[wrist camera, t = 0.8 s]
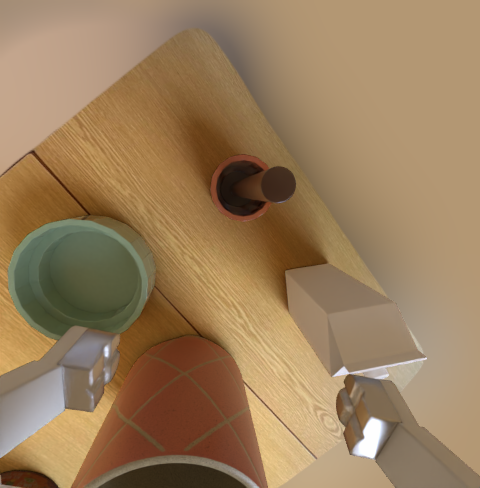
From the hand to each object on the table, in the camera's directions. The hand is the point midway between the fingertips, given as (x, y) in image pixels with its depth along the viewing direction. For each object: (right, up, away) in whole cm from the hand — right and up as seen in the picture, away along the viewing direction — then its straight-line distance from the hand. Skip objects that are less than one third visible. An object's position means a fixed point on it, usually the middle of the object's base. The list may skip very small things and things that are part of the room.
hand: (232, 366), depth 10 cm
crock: (0, +12, +28) cm, 30 cm away
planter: (-8, -18, +33) cm, 38 cm away
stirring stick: (0, +12, +27) cm, 30 cm away
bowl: (-19, +1, +28) cm, 34 cm away
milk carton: (+11, -2, +32) cm, 34 cm away
